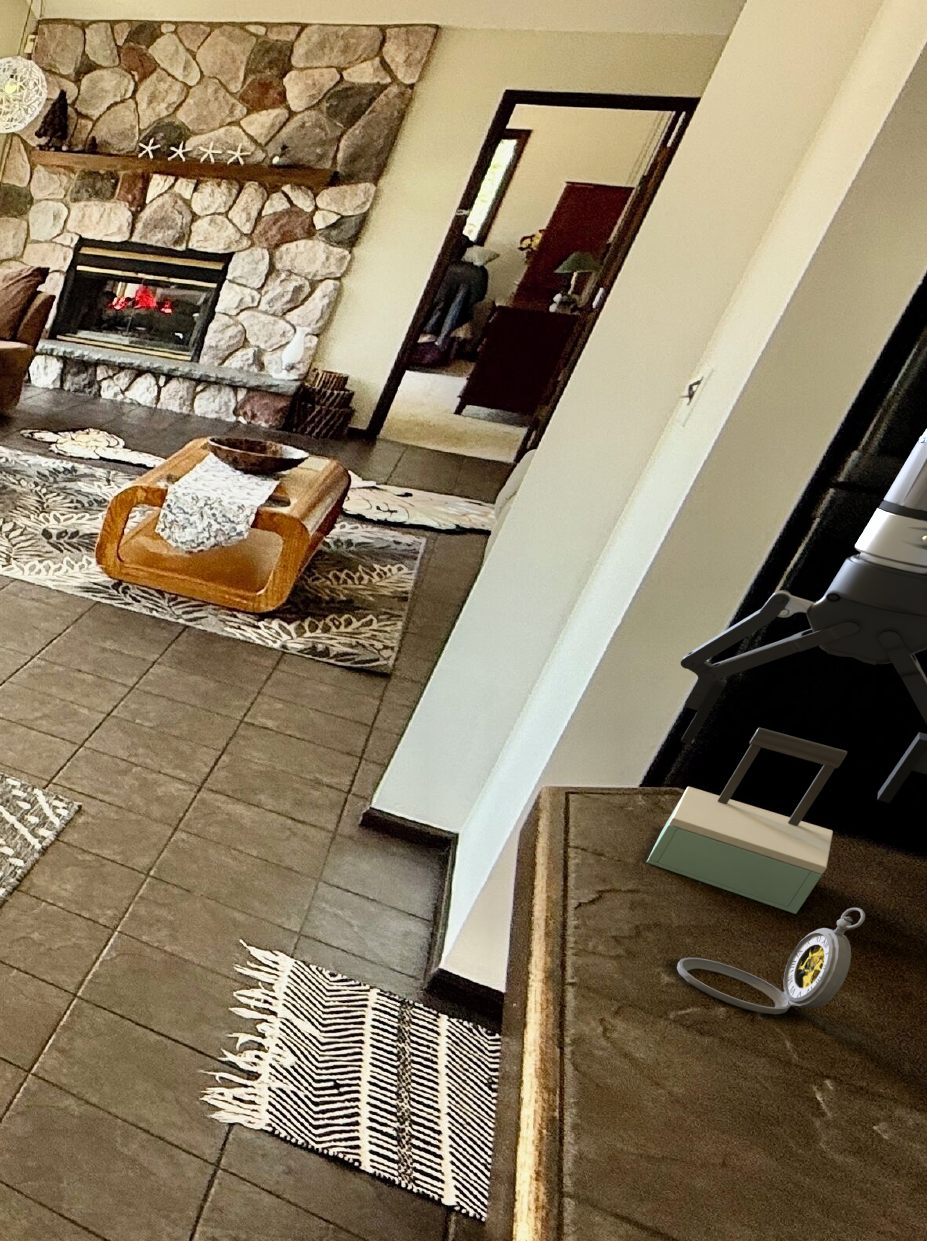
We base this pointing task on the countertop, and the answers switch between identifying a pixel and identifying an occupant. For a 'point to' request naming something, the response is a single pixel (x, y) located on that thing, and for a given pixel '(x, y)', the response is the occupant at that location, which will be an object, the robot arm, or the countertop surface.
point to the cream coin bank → (760, 826)
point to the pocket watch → (792, 971)
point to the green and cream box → (733, 868)
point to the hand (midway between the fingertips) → (780, 768)
